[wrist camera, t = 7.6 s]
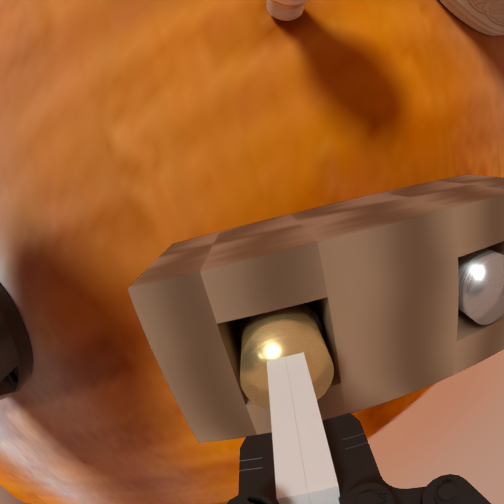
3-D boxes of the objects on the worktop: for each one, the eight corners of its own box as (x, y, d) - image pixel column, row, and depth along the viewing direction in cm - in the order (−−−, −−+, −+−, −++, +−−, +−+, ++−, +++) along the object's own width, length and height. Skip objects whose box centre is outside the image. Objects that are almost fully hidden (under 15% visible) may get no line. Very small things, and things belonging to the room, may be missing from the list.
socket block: (212, 361, 24) (198, 442, 16) (172, 244, 22) (127, 288, 13) (475, 286, 23) (539, 327, 14) (468, 174, 21) (546, 183, 12)
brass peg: (249, 340, 21) (250, 421, 13) (232, 280, 20) (222, 347, 12) (313, 324, 21) (342, 400, 13) (300, 264, 20) (331, 321, 12)
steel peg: (406, 289, 22) (464, 338, 14) (400, 232, 21) (467, 263, 13) (451, 273, 21) (515, 313, 14) (448, 219, 20) (520, 243, 13)
